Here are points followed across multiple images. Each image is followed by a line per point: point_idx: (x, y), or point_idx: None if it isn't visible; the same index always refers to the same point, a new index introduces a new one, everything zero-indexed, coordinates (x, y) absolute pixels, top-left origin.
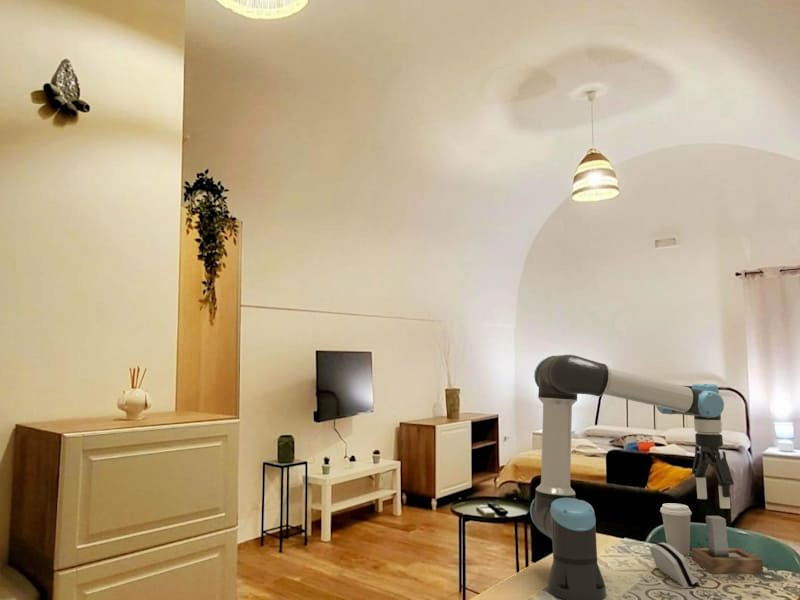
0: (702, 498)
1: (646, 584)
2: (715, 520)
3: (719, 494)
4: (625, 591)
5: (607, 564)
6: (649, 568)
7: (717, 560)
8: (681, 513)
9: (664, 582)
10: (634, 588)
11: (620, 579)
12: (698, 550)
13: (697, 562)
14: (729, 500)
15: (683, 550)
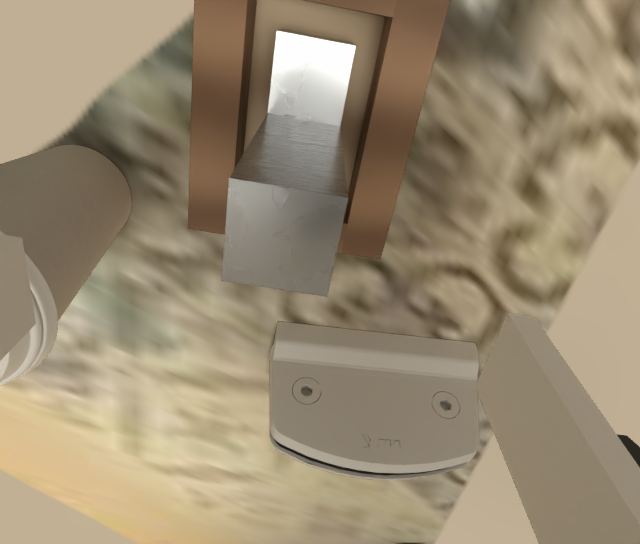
0: (26, 288)
1: None
2: (332, 271)
3: (533, 507)
4: (437, 512)
5: (223, 469)
6: None
7: (387, 230)
8: (42, 323)
9: None
10: (425, 490)
11: (354, 490)
12: None
13: None
14: (570, 377)
15: (124, 210)
